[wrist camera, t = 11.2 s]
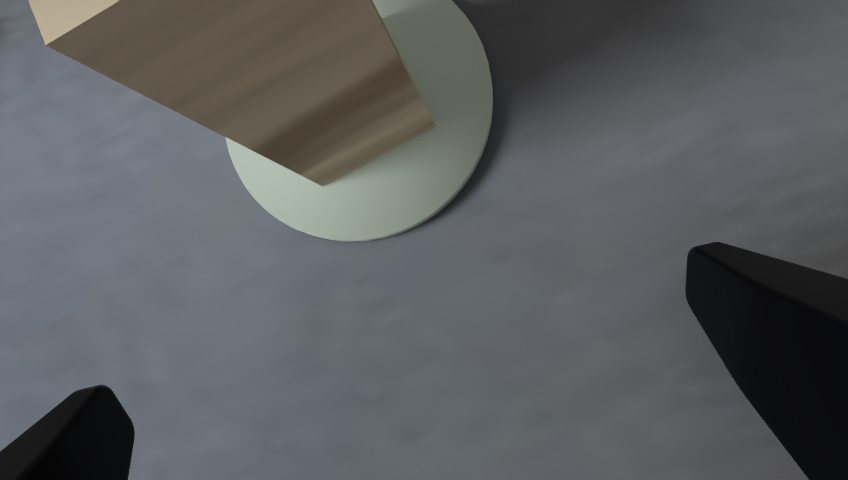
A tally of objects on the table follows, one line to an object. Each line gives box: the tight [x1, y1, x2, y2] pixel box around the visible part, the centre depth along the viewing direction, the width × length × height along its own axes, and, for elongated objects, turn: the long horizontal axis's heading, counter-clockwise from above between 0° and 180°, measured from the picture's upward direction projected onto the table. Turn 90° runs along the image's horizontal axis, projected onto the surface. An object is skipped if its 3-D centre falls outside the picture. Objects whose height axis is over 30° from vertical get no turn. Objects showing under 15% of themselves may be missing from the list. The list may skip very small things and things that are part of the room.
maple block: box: [29, 0, 436, 187], centre depth 16 cm, size 5×5×13 cm
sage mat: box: [225, 0, 493, 242], centre depth 22 cm, size 11×11×1 cm
